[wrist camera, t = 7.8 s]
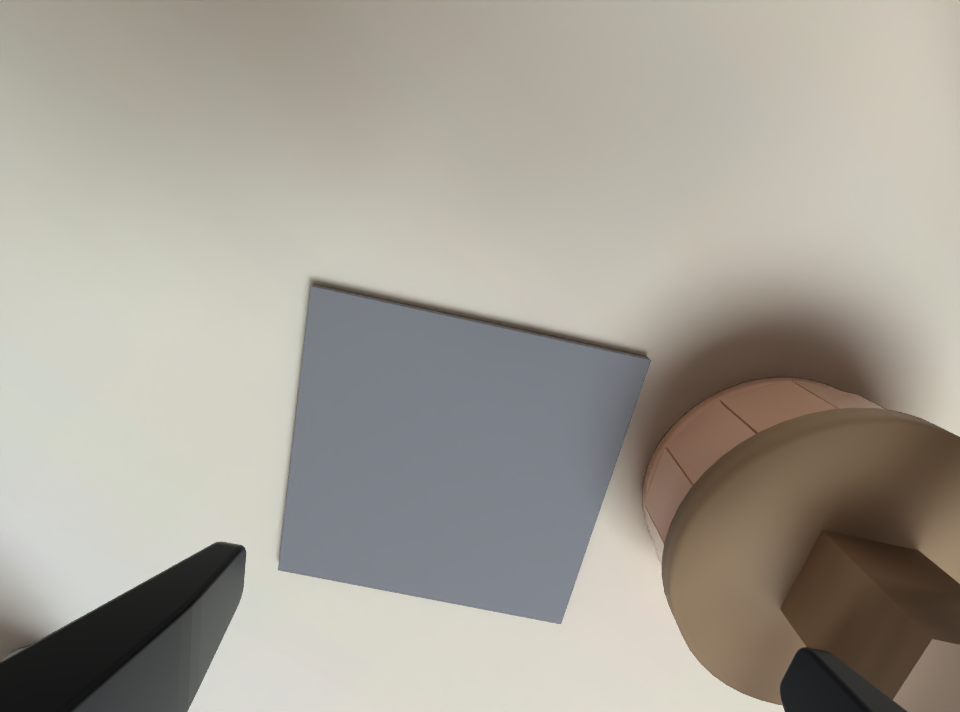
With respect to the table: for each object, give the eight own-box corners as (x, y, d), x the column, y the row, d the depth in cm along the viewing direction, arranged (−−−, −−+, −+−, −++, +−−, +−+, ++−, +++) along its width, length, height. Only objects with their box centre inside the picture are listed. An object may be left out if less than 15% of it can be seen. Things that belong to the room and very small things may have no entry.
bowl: (931, 406, 20) (1038, 456, 16) (825, 604, 22) (893, 687, 19) (689, 353, 19) (738, 391, 15) (612, 562, 22) (638, 638, 18)
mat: (647, 357, 19) (650, 360, 19) (559, 617, 23) (560, 624, 23) (314, 284, 19) (310, 286, 18) (281, 563, 22) (278, 570, 22)
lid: (1062, 448, 16) (1328, 564, 11) (897, 700, 19) (1042, 878, 14) (731, 373, 15) (849, 458, 10) (620, 645, 18) (668, 810, 13)
